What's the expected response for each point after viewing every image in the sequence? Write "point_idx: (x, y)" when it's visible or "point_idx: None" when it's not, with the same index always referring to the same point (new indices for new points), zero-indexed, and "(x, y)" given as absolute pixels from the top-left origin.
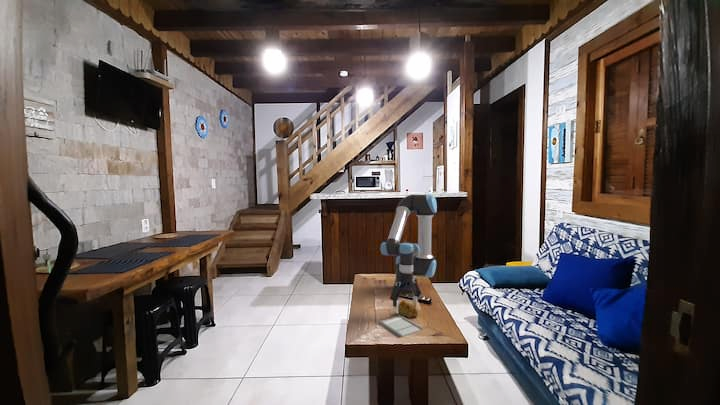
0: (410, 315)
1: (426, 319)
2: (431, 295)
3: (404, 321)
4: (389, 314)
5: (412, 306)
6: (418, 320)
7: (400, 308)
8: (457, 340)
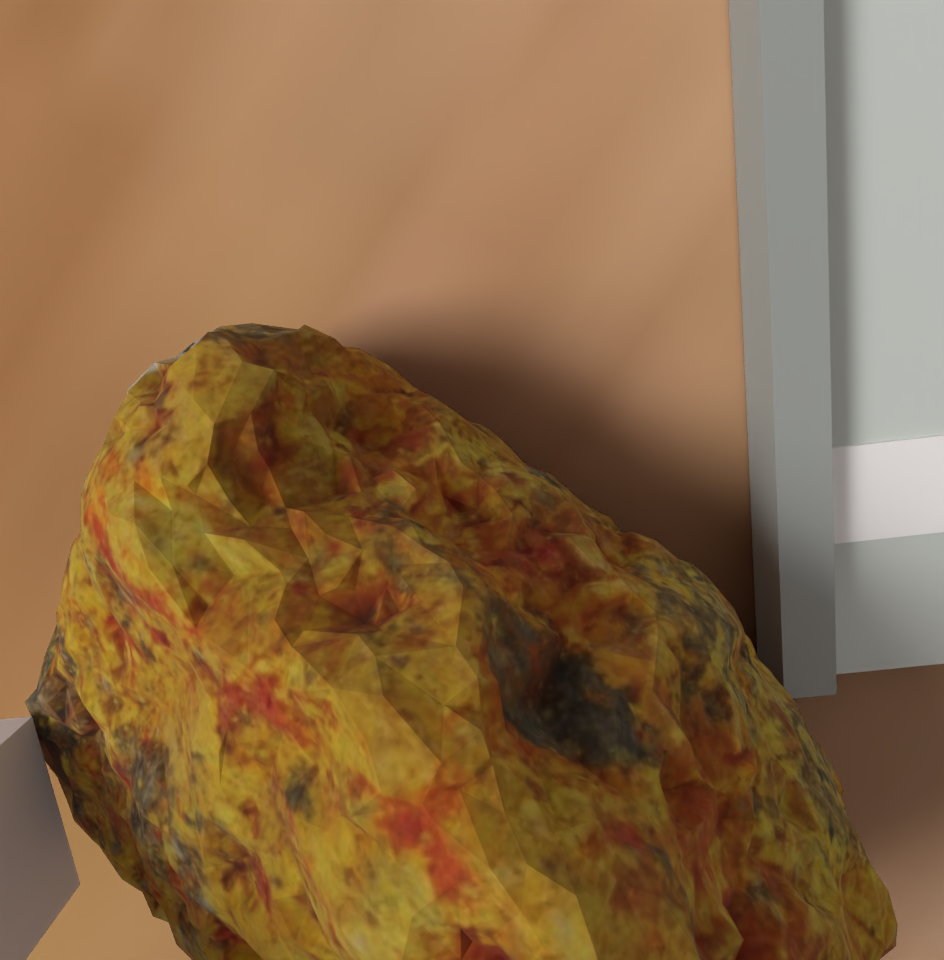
0: (497, 438)
1: (38, 78)
2: None
3: (913, 208)
4: (919, 908)
5: (274, 642)
6: (347, 140)
7: (832, 836)
8: None
